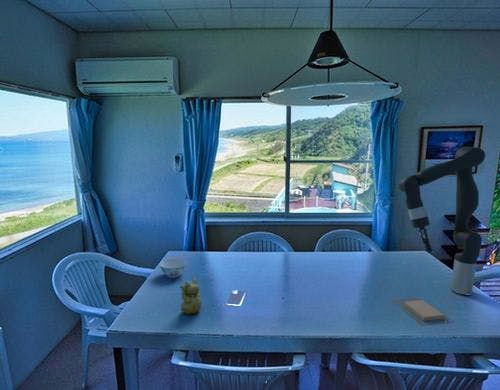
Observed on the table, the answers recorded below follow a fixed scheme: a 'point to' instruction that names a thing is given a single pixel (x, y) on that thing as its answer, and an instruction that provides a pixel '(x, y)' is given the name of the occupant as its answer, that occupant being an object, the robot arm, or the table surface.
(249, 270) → the table surface
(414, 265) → the table surface
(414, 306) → the tile
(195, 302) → the decorative figurine
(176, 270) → the chinaware
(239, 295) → the mobile phone
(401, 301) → the mat
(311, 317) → the table surface
